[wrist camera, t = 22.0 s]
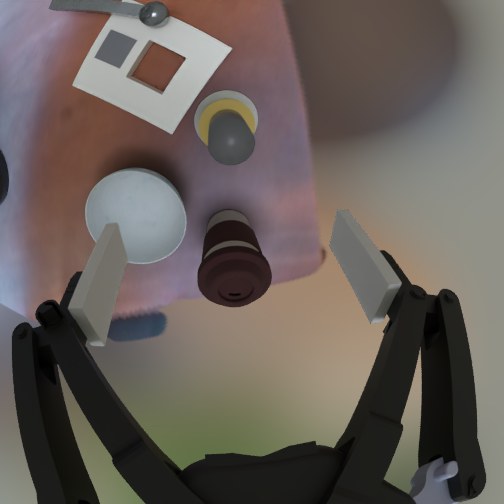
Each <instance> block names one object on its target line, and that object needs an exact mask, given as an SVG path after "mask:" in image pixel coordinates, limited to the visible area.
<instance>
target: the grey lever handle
mask: <svg viewBox="0 0 504 504" xmlns="http://www.w3.org/2000/svg"><path fill="white" fill-rule="evenodd" d="M49 9H51V10H56V11H78V12H92V13H102V14H110V15H118V16H124V17H130V18H136V19H140V21H141V22H142V23H143V24H145V25H147V26H148V27H151V28H157V27H161V26H163V25H164V24H165V23H166V22H167V21H168V19H169V17H170V12H169V10H168V9H167V8H166V6H165V5H164V4H163V3H161V2H157V1H155V2H150V3H147V4H146V5H140V4H134V3H128V2H120V1H112V0H52V2H51V4H50V7H49Z"/></svg>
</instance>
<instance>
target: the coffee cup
mask: <svg viewBox="0 0 504 504" xmlns="http://www.w3.org/2000/svg"><path fill="white" fill-rule="evenodd" d="M271 279H272V273H271V269H270V266H269V263H268V261H267V260H266V258H265V257H264V256H263V254H262V252H261V249H260V246H259V244H258V241H257V238H256V236H255V233H254V231H253V230H252V229H251V226H250V223H249V221H248V219H247V218H246V217H245V216H244V215H243V214H242V213H240V212H237V211H234V210H225V211H221V212H219V213H217V214H215V215H214V216H213V217H212V218H211V219H210V221H209V223H208V226H207V233H206V236H205V239H204V246H203V254H202V263H201V264H200V266H199V269H198V287H199V289H200V291H201V293H202V294H203V295H204V296H205V297H206V298H207V299H208V300H210V301H212V302H214V303H216V304H219V305H223V306H228V307H241V306H244V305H248V304H249V303H251V302H253V301H255V300H257V299H258V298H260V297H261V296H262V295H263V294H264V293H265V292H266V291H267V290H268V288H269V286H270V284H271Z"/></svg>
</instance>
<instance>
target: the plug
mask: <svg viewBox="0 0 504 504" xmlns="http://www.w3.org/2000/svg"><path fill="white" fill-rule="evenodd" d="M254 132H255V119H254V116H253V114H252V112H251V110H250V109H249V108H248V107H247V106H246V105H245V104H243V103H242V102H240V101H238V100H235V99H220V100H217V101H215V102H213V103H211V104H210V105H208V106H207V107H206V108H205V110H204V111H203V112H202V114H201V117H200V120H199V134H200V136H201V139H202V140H203V142H204V143H205V144H206V145H207V146H208V149H209V152H210V154H211V156H212V157H213V158H214V159H215V160H216V161H218V162H219V163H222V164H225V165H236V164H240V163H242V162H244V161H245V160H247V159H248V158H249V157H250V155H251V154H252V152H253V150H254V146H255V139H254Z"/></svg>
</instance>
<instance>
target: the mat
mask: <svg viewBox="0 0 504 504" xmlns="http://www.w3.org/2000/svg"><path fill="white" fill-rule="evenodd" d="M220 99H235V100H238V101H240V102H242V103H243V104H245V105H246V106H247V107H248V108H249V109H250V110H251V112H252V114H253V116H254V119H255V131H256V128H257V124H258V114H257V110H256V108H255V106H254V104H253V103H252V102H251V100H250V99H249V98H247V97H246V96H245V95H243V94H241V93H239V92H236V91H231V90H223V91H218V92H215V93H212V94H211V95H209V96H207V97H206V98H205V99H204V100H203V101H202V102H201V103H200V104H199V106H198V108H197V110H196V113H195V117H194V125H195V129H196V132H197V134H198V136H199V137H200V139H201V136H200V134H199V120H200V117H201V114H202V112H203V111H204V110H205V108H206V107H207V106H208V105H210V104H211V103H213V102H215V101H217V100H220ZM254 133H255V132H254ZM201 140H202V139H201ZM202 141H203V140H202Z"/></svg>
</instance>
